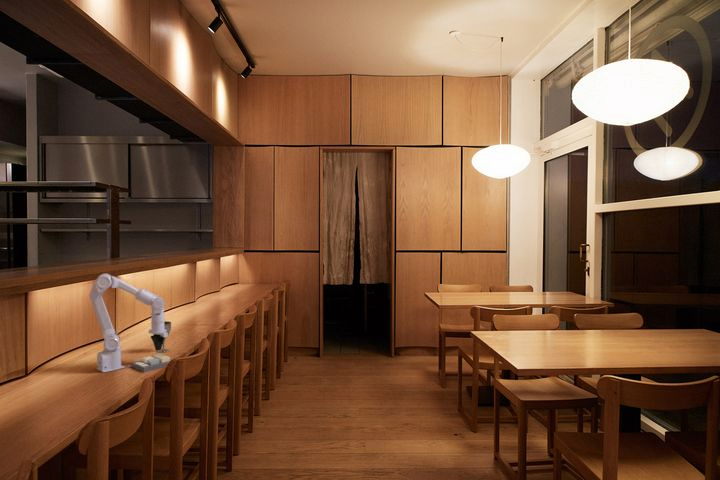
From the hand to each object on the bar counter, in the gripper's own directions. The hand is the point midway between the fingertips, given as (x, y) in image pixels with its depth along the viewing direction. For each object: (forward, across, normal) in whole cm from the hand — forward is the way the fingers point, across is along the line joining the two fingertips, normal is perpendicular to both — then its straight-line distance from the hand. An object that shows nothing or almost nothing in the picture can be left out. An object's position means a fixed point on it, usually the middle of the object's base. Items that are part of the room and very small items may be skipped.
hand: (158, 349), depth 218 cm
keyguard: (+6, -3, +4) cm, 8 cm away
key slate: (+5, -5, +5) cm, 9 cm away
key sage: (+5, 0, 0) cm, 5 cm away
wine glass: (+7, +18, -12) cm, 23 cm away
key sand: (+5, -5, 0) cm, 7 cm away
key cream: (+5, 0, +5) cm, 7 cm away
